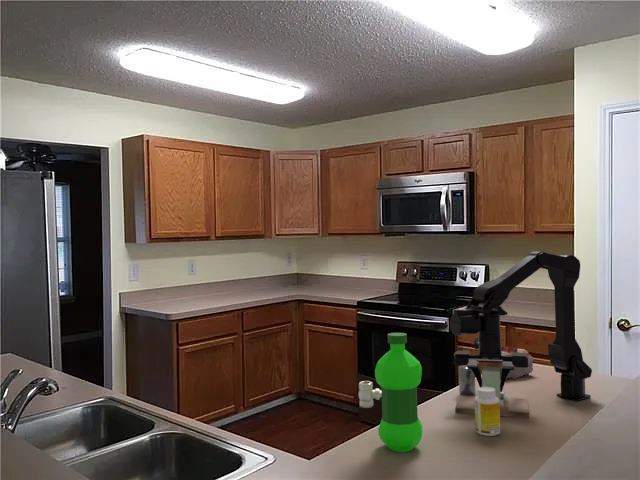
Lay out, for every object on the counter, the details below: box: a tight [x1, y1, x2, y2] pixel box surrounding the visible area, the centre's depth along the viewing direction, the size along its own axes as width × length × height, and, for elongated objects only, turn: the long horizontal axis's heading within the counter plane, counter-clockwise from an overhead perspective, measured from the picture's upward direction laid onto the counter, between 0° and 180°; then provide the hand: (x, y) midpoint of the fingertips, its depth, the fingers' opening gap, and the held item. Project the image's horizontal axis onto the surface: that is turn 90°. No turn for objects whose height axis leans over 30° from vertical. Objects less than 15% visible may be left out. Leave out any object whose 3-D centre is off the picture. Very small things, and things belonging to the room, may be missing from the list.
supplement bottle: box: [474, 386, 501, 437], centre depth 128 cm, size 6×6×10 cm
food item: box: [487, 345, 534, 381], centre depth 177 cm, size 14×8×10 cm, turn 115°
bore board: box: [454, 390, 530, 418], centre depth 146 cm, size 18×12×3 cm, turn 71°
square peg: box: [481, 366, 501, 400], centre depth 146 cm, size 4×4×8 cm
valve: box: [358, 380, 382, 409], centre depth 151 cm, size 7×7×12 cm
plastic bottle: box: [374, 332, 423, 453], centre depth 120 cm, size 10×10×25 cm
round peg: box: [458, 364, 477, 396], centre depth 158 cm, size 4×4×8 cm
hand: (491, 391), depth 146 cm, fingers closed on square peg, 4 cm apart
